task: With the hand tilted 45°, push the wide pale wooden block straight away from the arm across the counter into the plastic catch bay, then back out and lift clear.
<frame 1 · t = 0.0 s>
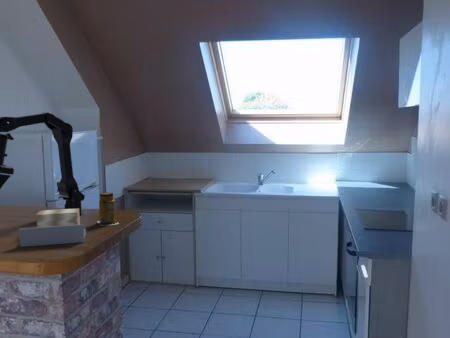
condiment: (108, 223, 177), on the worktop
wide block: (59, 232, 165), on the worktop
catch bay: (55, 239, 155), on the worktop
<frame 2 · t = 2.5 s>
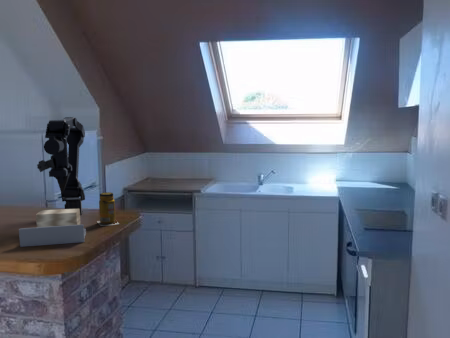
hand: (62, 191, 175), 13 cm above the worktop, tool pointing down, fingers closed
nothing on the worktop moved.
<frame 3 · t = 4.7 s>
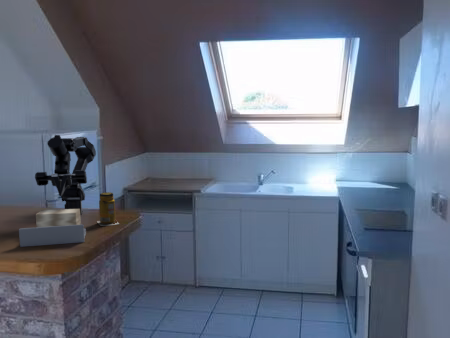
hand: (60, 195, 170), 12 cm above the worktop, tool tilted 45°, fingers closed
nothing on the worktop moved.
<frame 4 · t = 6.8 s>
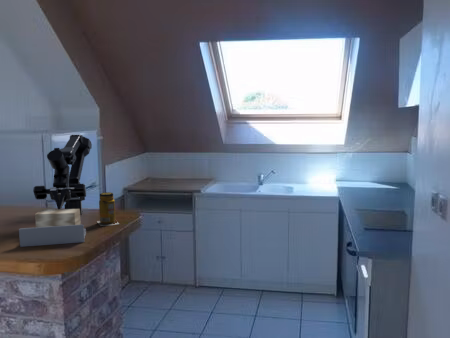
hand: (59, 209, 167), 8 cm above the worktop, tool tilted 45°, fingers closed
wide block: (59, 232, 164), on the worktop, touching gripper
everything else where it was.
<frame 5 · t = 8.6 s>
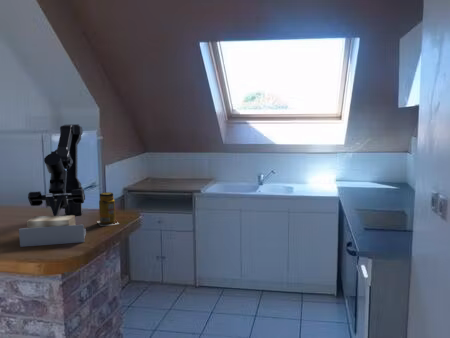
hand: (55, 217, 157), 7 cm above the worktop, tool tilted 45°, fingers closed
wide block: (53, 240, 154), resting in catch bay, touching gripper
everything else where it was.
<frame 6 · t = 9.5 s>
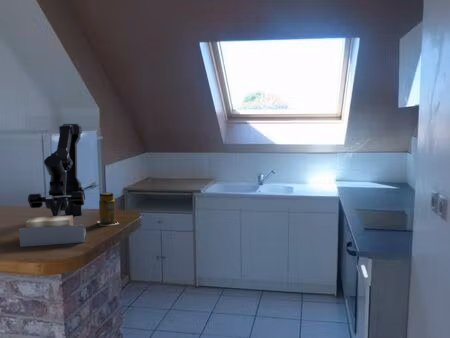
hand: (55, 219, 157), 7 cm above the worktop, tool tilted 45°, fingers closed
wide block: (51, 241, 154), resting in catch bay
everything else where it was.
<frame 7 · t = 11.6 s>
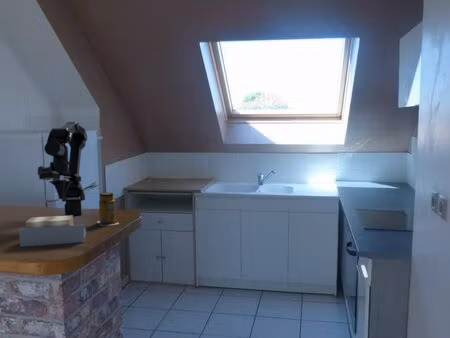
hand: (61, 199, 173), 11 cm above the worktop, tool pointing down, fingers closed
nothing on the worktop moved.
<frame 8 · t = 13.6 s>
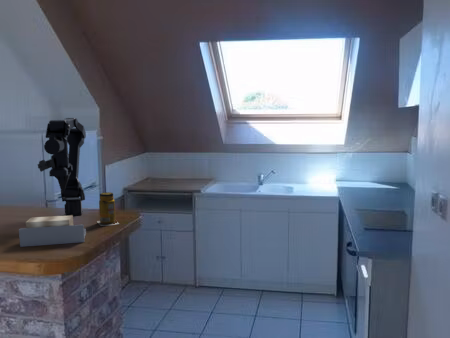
hand: (62, 191, 176), 13 cm above the worktop, tool pointing down, fingers closed
nothing on the worktop moved.
at the end: wide block 1.7 cm off-centre on the catch bay, point 0.0 cm above the catch bay's base; wide block tilted 0° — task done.
